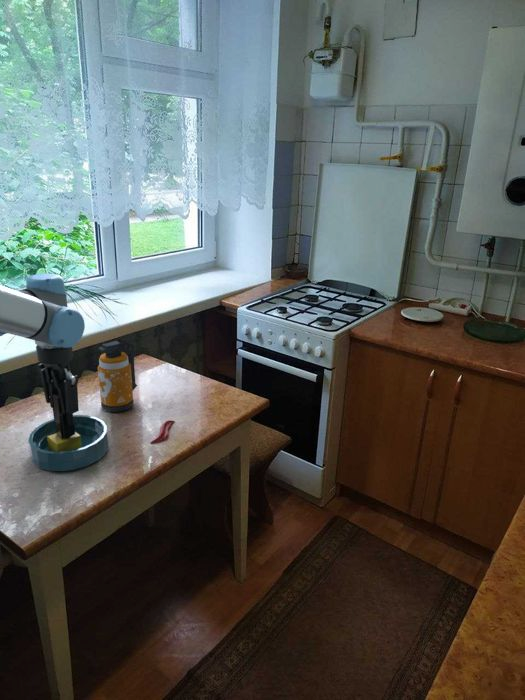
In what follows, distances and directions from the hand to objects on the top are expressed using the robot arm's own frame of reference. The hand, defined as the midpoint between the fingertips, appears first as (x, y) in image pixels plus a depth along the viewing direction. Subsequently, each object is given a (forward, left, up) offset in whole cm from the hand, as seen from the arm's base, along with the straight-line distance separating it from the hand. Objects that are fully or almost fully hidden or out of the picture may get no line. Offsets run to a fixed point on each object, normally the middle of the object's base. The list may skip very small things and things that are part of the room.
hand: (65, 433), depth 120 cm
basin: (0, -1, -5) cm, 5 cm away
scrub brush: (-1, 0, -4) cm, 4 cm away
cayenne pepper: (+21, -11, -5) cm, 24 cm away
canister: (+23, +10, -5) cm, 25 cm away
